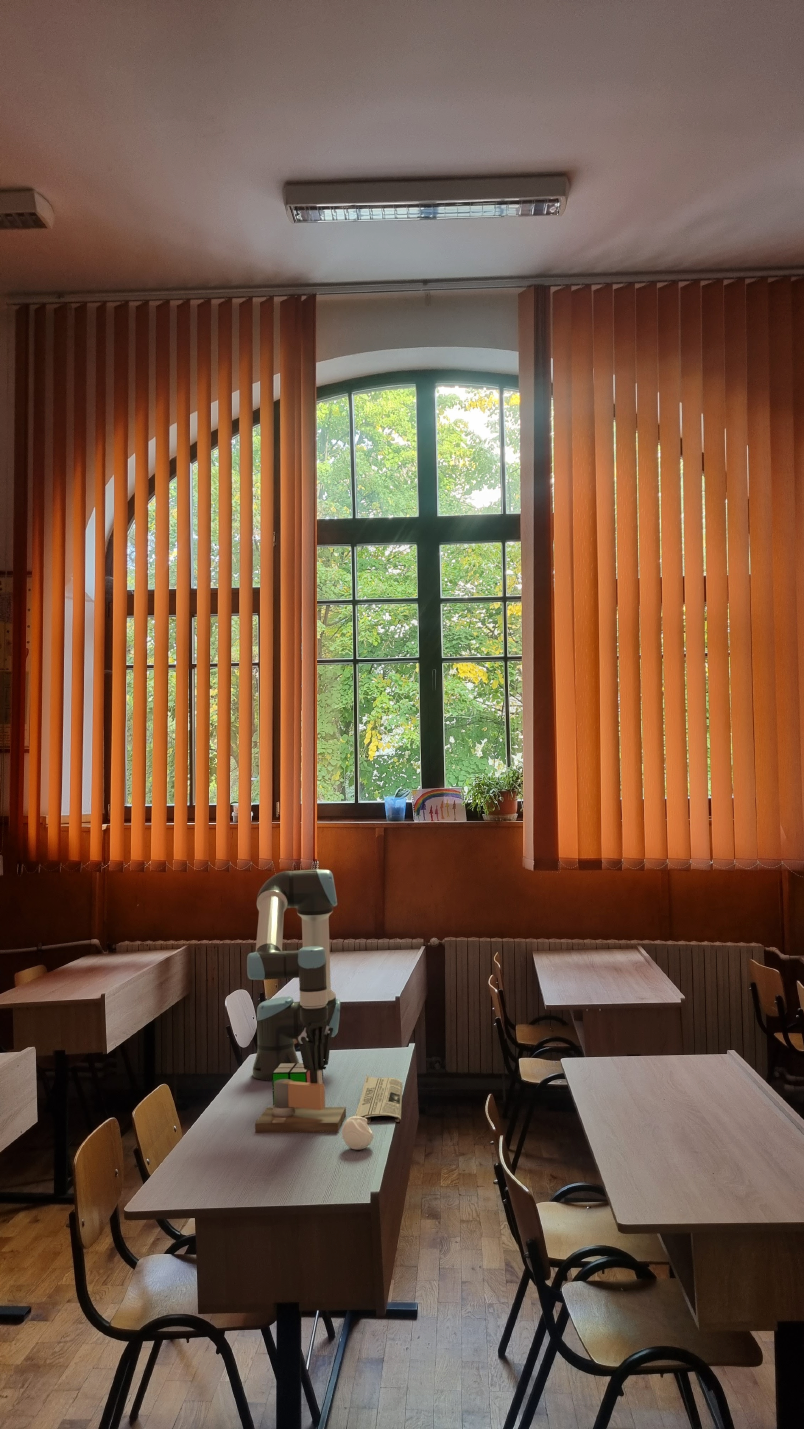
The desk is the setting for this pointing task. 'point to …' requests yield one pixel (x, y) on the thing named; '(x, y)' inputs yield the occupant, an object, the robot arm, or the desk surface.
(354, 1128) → the baseball
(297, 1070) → the puzzle cube
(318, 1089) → the lever
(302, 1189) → the desk surface
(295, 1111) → the plate
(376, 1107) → the newspaper
